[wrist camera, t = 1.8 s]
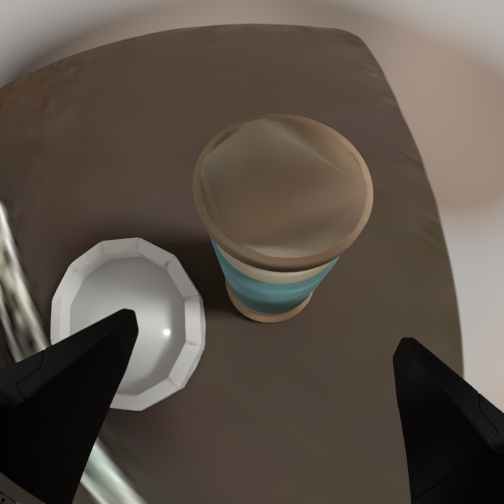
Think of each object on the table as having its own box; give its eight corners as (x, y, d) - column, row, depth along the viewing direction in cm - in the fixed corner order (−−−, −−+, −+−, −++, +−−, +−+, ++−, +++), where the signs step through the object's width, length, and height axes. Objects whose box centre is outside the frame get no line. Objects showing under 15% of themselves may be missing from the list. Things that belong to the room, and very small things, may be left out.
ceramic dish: (109, 428, 17) (95, 433, 15) (49, 298, 21) (34, 292, 19) (239, 353, 20) (237, 353, 17) (157, 222, 23) (148, 209, 21)
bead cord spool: (258, 340, 20) (260, 316, 8) (210, 269, 22) (156, 160, 10) (329, 290, 21) (412, 202, 9) (279, 225, 23) (297, 92, 11)
